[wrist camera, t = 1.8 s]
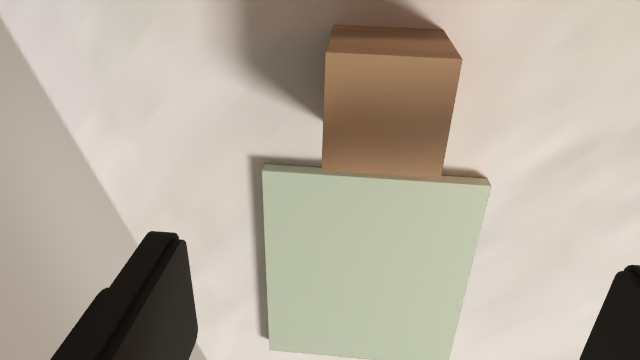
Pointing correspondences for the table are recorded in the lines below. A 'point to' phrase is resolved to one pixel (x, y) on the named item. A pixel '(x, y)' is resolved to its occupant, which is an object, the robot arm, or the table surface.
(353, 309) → the sage board
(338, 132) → the walnut cube
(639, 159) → the table surface
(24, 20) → the table surface
